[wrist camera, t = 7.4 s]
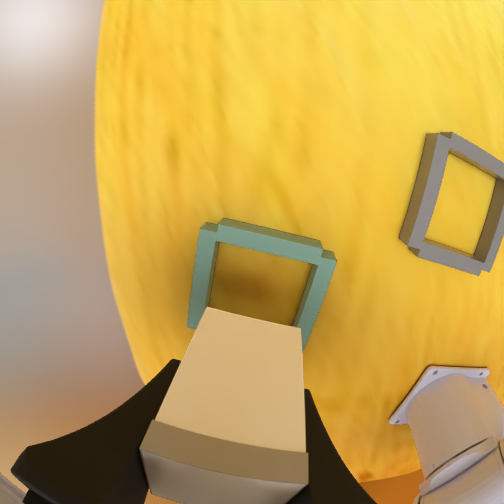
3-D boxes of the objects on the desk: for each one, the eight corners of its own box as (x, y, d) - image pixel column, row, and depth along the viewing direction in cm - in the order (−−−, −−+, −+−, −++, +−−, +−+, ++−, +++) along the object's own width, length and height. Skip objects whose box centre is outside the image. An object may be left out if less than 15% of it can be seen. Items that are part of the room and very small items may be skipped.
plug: (302, 327, 12) (308, 484, 5) (277, 390, 13) (266, 518, 6) (205, 305, 12) (139, 448, 5) (196, 372, 13) (151, 493, 7)
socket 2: (506, 171, 14) (519, 174, 12) (476, 270, 16) (486, 278, 15) (428, 126, 14) (439, 125, 12) (396, 245, 17) (404, 253, 15)
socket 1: (335, 244, 17) (339, 253, 16) (299, 345, 20) (299, 359, 19) (207, 214, 17) (201, 220, 16) (192, 320, 20) (186, 332, 19)
